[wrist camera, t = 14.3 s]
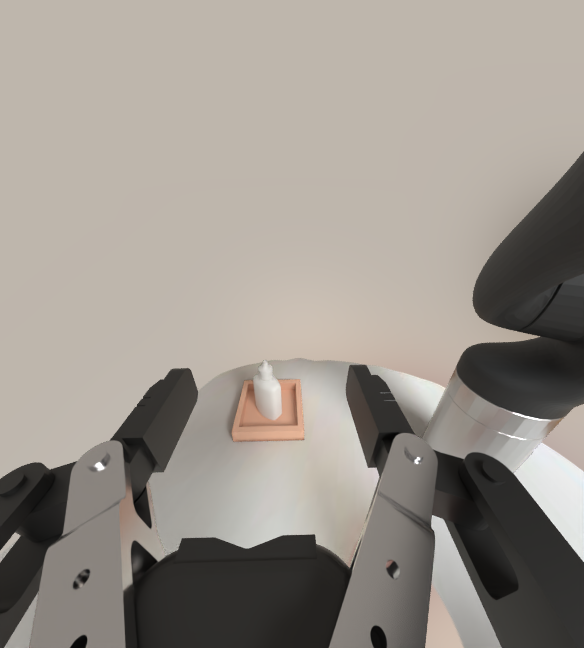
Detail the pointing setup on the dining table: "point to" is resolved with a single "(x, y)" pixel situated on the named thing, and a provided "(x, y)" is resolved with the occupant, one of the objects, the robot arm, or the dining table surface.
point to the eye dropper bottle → (267, 392)
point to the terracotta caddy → (261, 428)
